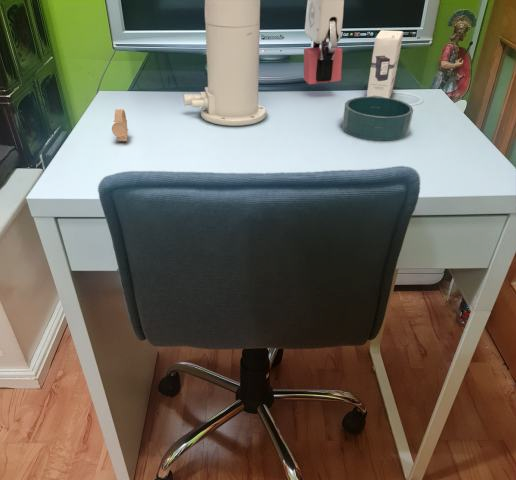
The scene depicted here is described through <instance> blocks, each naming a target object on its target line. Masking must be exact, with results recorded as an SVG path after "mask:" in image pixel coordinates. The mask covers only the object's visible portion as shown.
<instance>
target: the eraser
mask: <svg viewBox="0 0 516 480" xmlns="http://www.w3.org/2000/svg"><path fill="white" fill-rule="evenodd" d="M325 47H328V45H326V46H325ZM325 47H324V49H325ZM319 51H320V47H316V48H311V47H309V48H304V49H303V80H304V81H305V82H306V84H308V85H315V84H325V83H326V84H327V83H333V82H341V81H342V67H343V66H342V65H343V51H344V50H343V49H342V48H341V47H339V46H338V45H337V49H336V50H335V52H334V60H333V68H332V78H331V81H320V82H318V81H317V80H316V72H317V59H319Z"/></svg>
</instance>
